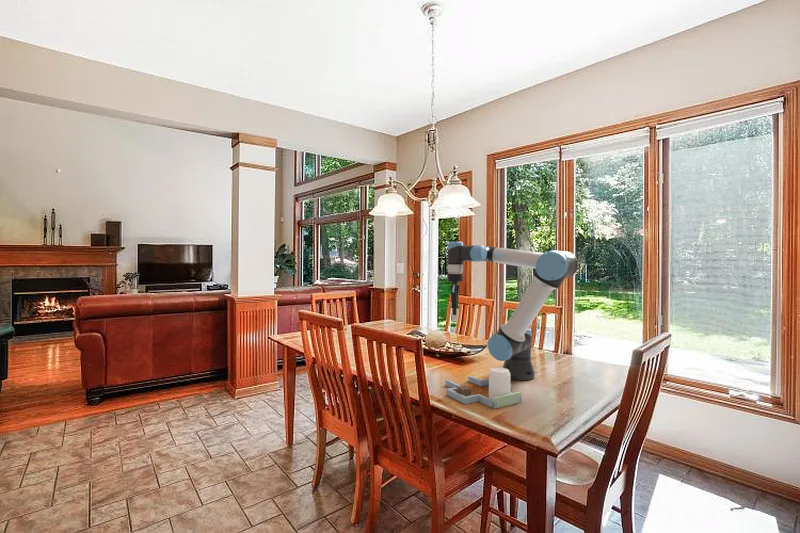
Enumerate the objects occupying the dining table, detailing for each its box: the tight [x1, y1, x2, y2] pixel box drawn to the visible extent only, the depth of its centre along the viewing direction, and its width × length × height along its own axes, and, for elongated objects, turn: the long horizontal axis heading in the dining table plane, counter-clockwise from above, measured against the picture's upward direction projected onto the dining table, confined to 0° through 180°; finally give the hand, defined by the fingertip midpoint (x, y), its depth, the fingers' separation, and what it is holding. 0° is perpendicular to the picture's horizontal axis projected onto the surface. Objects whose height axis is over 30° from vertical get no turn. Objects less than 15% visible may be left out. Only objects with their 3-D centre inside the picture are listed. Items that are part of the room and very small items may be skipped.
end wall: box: [491, 391, 523, 409], centre depth 148 cm, size 1×14×4 cm, turn 120°
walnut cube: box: [457, 384, 472, 396], centre depth 156 cm, size 4×4×4 cm
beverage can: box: [488, 366, 511, 399], centre depth 154 cm, size 8×8×12 cm
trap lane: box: [445, 375, 522, 409], centre depth 161 cm, size 30×27×2 cm
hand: (454, 321), depth 193 cm, fingers closed
